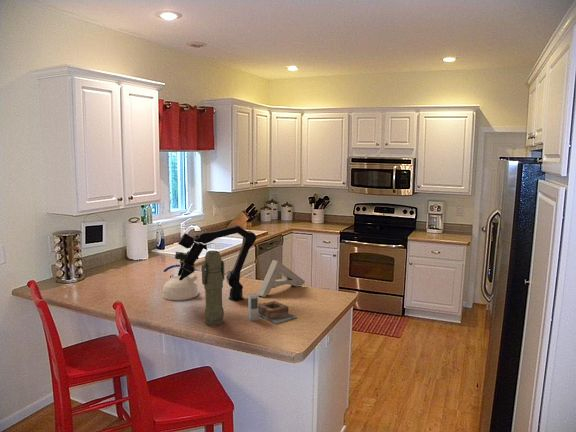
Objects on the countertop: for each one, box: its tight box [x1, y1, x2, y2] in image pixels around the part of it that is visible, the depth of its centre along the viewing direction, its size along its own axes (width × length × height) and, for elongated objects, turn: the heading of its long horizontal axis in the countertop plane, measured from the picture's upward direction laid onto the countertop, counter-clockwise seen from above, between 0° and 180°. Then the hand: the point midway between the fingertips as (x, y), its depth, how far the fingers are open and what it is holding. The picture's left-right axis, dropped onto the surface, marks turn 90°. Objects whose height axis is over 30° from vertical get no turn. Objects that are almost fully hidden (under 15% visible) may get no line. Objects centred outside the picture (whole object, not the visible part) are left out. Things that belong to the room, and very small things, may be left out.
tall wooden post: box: [247, 292, 259, 322], centre depth 222 cm, size 4×4×12 cm
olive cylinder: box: [201, 250, 226, 327], centre depth 216 cm, size 9×12×35 cm
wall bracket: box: [256, 259, 306, 298], centre depth 270 cm, size 22×4×30 cm
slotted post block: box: [258, 300, 298, 325], centre depth 228 cm, size 22×13×5 cm, turn 40°
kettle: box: [162, 264, 199, 301], centre depth 260 cm, size 20×21×18 cm
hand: (179, 277), depth 242 cm, fingers open, 9 cm apart
